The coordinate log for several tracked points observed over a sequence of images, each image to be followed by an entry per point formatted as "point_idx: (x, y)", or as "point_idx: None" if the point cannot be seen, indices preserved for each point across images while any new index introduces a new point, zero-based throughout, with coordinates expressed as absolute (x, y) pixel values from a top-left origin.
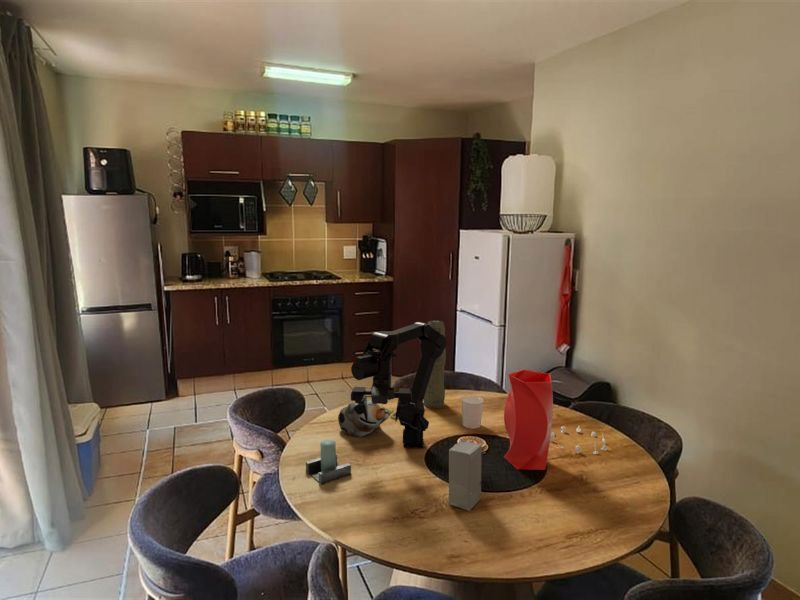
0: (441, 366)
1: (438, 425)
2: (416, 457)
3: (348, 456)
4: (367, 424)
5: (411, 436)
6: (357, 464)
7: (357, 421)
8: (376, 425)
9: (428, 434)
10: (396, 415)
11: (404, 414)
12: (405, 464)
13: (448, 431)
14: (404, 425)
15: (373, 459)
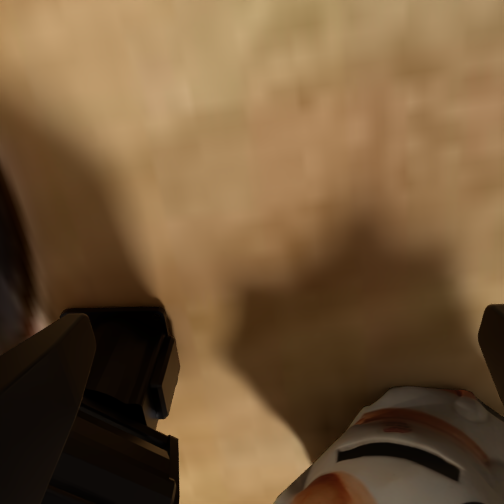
0: None
1: None
2: (66, 210)
3: (482, 171)
4: (392, 435)
5: (105, 356)
6: (424, 66)
7: (461, 455)
8: (333, 446)
9: None
10: (9, 371)
11: (95, 497)
12: (106, 112)
13: None
14: (146, 430)
15: (319, 152)
